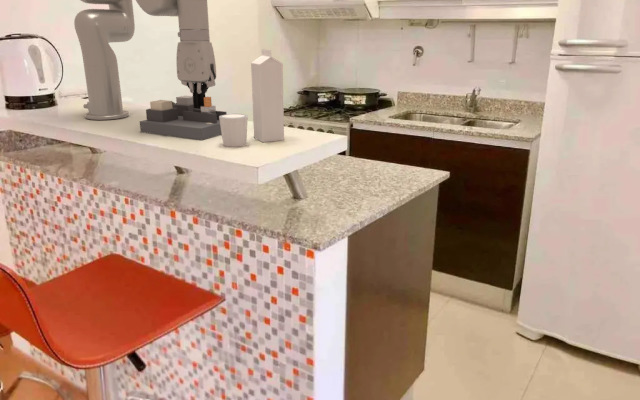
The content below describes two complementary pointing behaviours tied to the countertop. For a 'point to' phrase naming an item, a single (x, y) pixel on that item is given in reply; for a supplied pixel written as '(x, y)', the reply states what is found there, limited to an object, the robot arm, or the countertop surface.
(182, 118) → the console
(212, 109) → the toggle slider
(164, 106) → the cream button
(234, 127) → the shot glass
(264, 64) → the milk
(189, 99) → the grey button
